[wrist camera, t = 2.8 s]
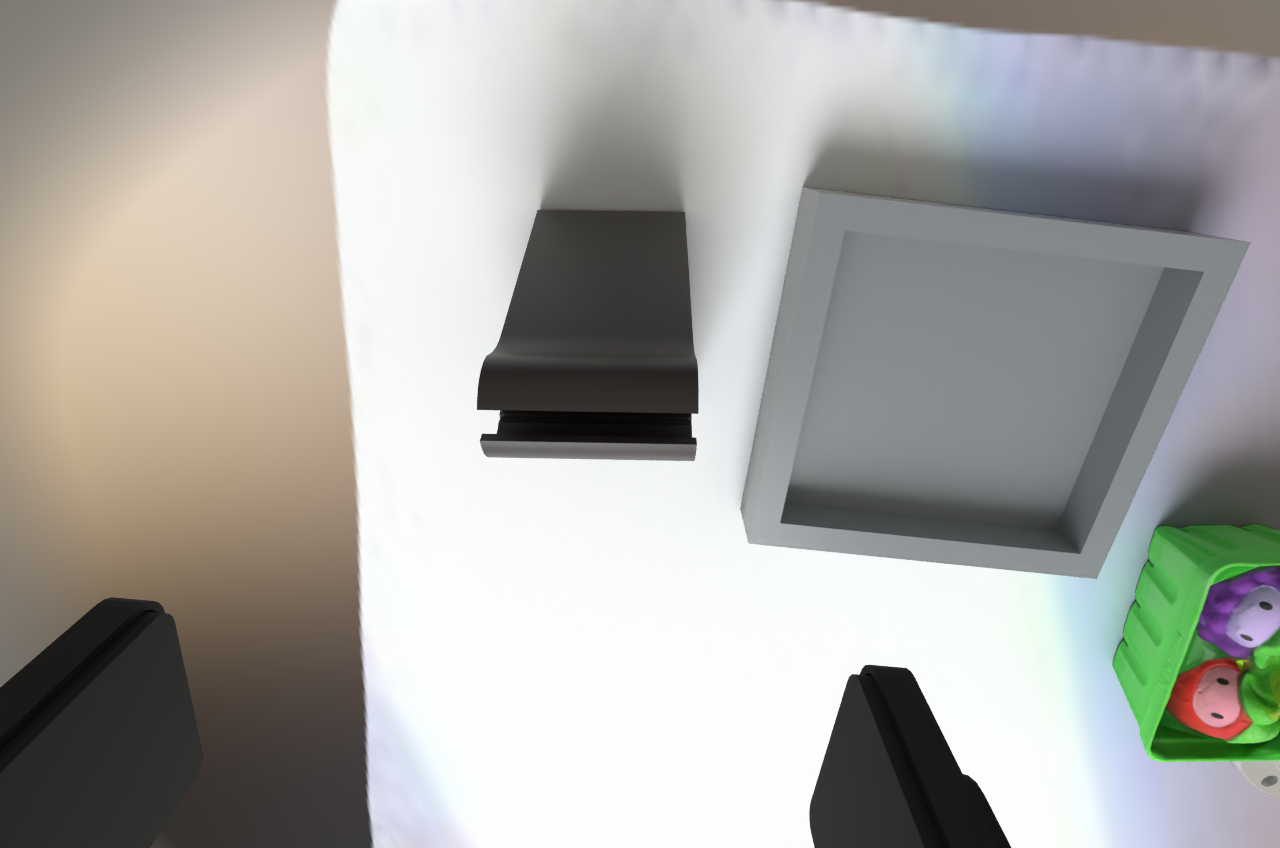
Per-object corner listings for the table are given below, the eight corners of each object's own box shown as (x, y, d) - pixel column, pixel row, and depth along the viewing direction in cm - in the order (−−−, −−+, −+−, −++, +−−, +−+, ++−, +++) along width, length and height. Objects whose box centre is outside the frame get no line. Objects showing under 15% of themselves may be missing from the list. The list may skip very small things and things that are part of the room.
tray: (1189, 231, 27) (1250, 242, 25) (1059, 542, 33) (1096, 578, 30) (802, 187, 27) (819, 192, 24) (740, 509, 33) (748, 543, 30)
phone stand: (539, 207, 27) (463, 255, 16) (685, 210, 27) (708, 261, 16) (547, 411, 31) (488, 563, 20) (677, 414, 31) (690, 568, 20)
